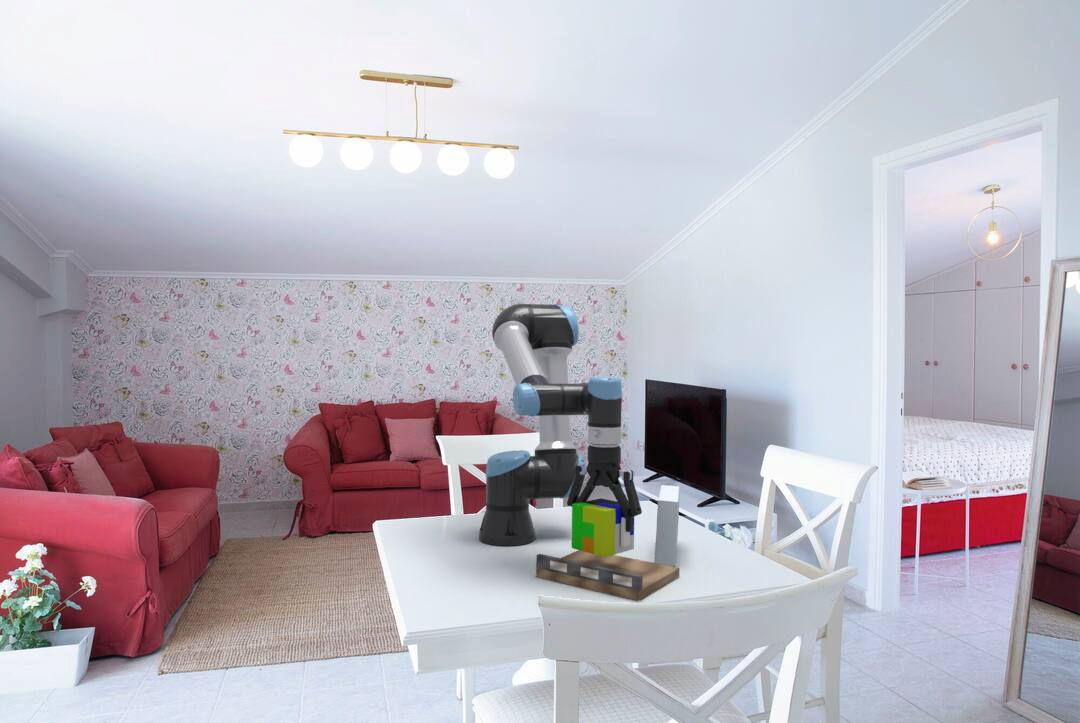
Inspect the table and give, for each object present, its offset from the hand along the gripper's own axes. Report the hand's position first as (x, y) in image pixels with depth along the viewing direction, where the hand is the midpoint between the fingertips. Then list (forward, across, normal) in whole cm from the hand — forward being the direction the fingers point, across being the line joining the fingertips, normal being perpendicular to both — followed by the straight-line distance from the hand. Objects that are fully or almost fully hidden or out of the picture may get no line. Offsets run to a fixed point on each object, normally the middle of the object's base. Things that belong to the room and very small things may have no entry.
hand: (602, 541), depth 167 cm
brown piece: (+8, +1, +1) cm, 8 cm away
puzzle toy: (+2, 0, 0) cm, 2 cm away
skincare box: (+8, +4, +26) cm, 28 cm away
